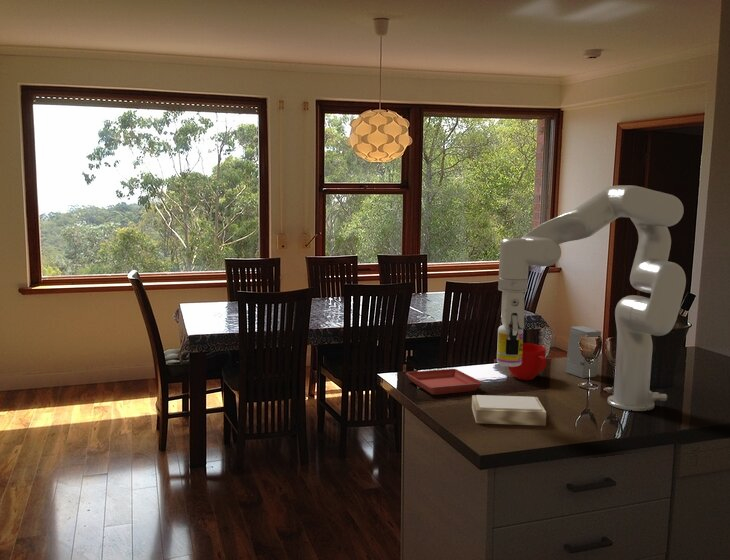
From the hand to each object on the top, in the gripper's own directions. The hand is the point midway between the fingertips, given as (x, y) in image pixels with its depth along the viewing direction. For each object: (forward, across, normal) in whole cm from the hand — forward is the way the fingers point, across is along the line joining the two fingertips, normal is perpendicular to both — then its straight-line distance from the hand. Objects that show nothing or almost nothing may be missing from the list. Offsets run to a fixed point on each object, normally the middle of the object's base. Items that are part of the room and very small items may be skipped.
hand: (509, 350), depth 183 cm
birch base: (+18, 0, 0) cm, 18 cm away
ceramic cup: (+18, +39, -12) cm, 45 cm away
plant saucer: (+19, +27, +16) cm, 37 cm away
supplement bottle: (+4, 0, 0) cm, 4 cm away
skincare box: (+18, +46, -31) cm, 59 cm away
